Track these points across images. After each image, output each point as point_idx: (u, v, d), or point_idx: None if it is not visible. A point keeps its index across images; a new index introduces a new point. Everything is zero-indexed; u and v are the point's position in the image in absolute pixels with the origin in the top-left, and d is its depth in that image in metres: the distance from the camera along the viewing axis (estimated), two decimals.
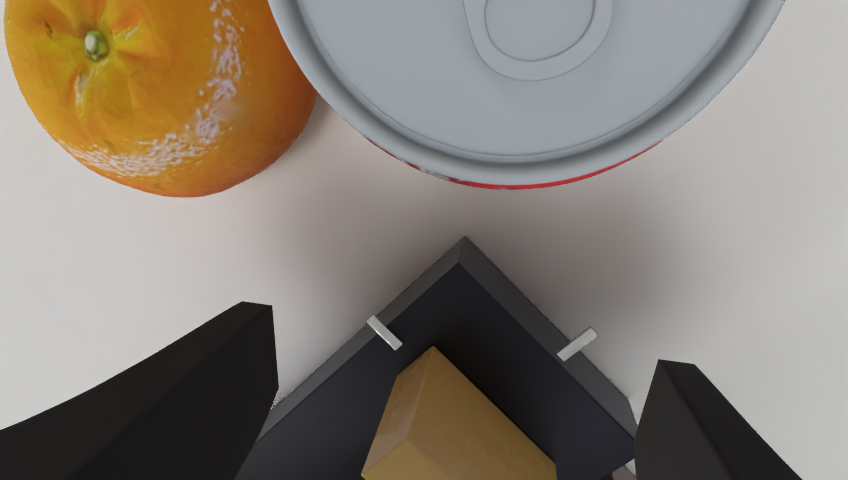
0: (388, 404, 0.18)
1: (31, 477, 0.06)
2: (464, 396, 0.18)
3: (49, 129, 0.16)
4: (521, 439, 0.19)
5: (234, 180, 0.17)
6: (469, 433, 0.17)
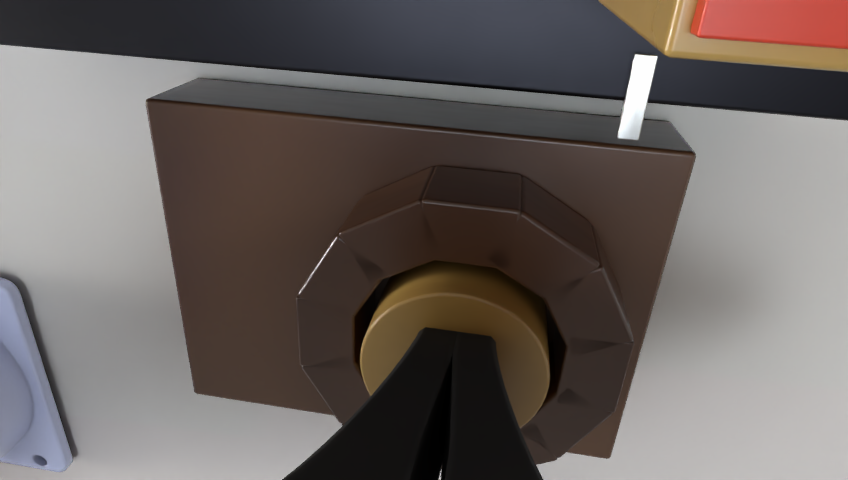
0: None
1: None
2: None
3: None
4: None
5: None
6: None
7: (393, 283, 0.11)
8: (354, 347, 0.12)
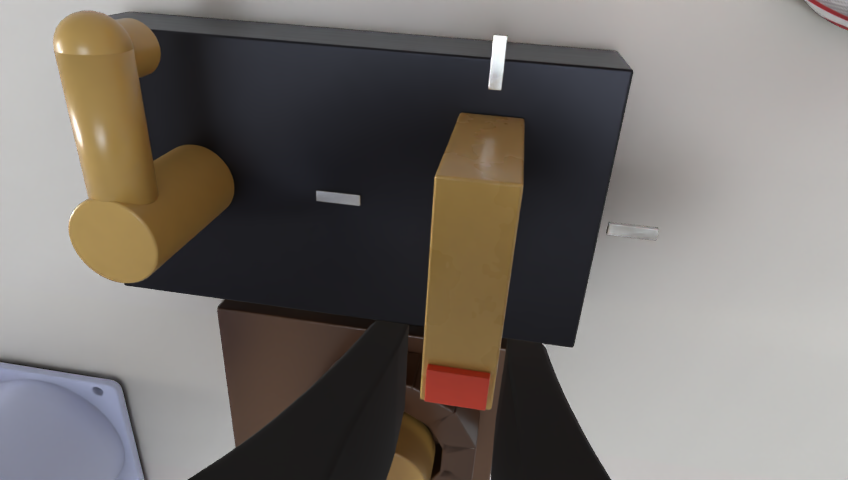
0: (459, 132, 0.14)
1: None
2: None
3: None
4: None
5: None
6: None
7: None
8: None
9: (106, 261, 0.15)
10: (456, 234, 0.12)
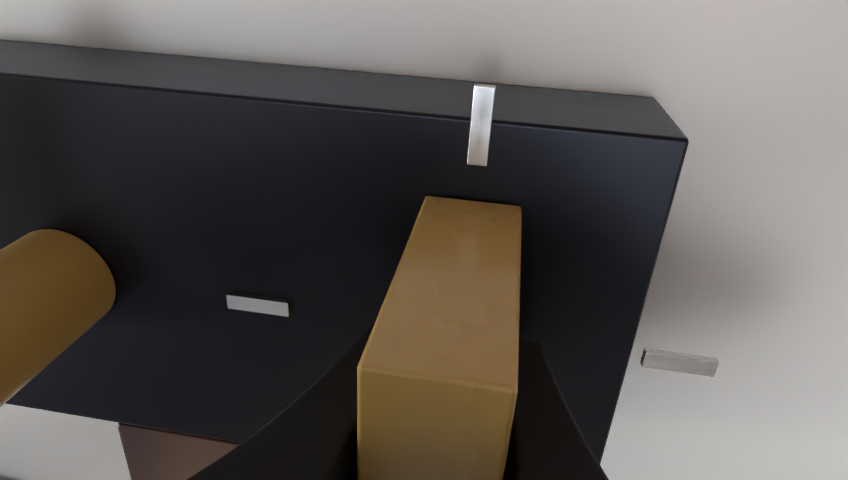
0: (417, 242, 0.09)
1: None
2: None
3: None
4: None
5: None
6: None
7: None
8: None
9: None
10: (400, 455, 0.07)
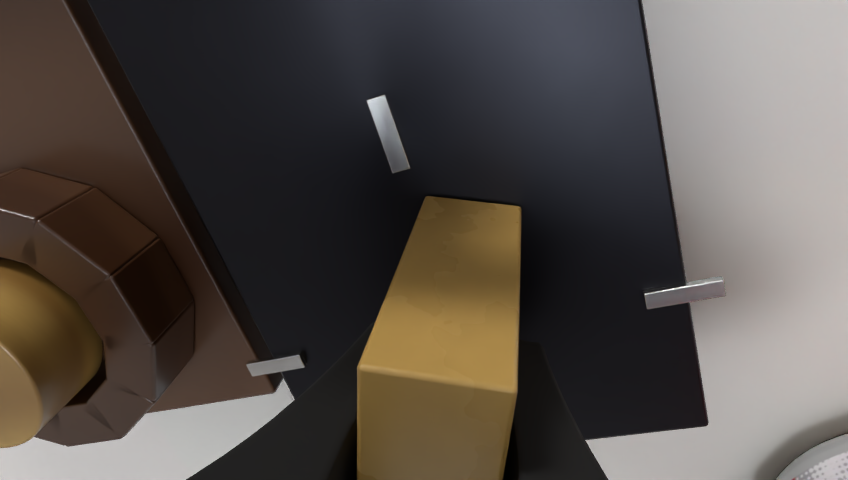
0: (417, 242, 0.09)
1: None
2: None
3: None
4: None
5: None
6: None
7: (1, 286, 0.12)
8: None
9: None
10: (400, 456, 0.07)
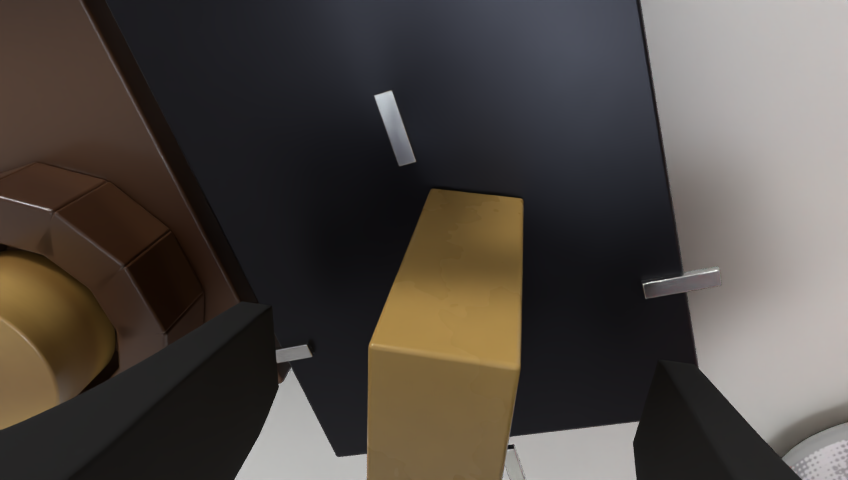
0: (424, 231, 0.09)
1: (31, 477, 0.06)
2: None
3: None
4: None
5: None
6: None
7: (18, 276, 0.12)
8: None
9: None
10: (408, 431, 0.07)
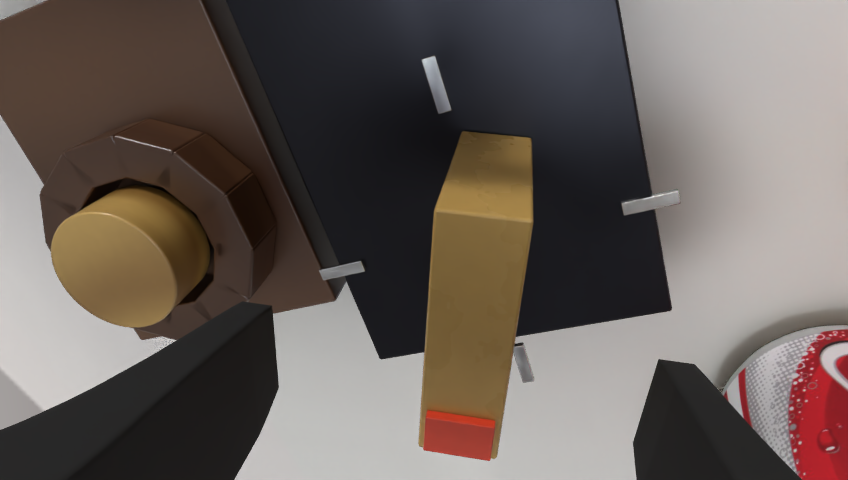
0: (461, 155, 0.13)
1: (31, 477, 0.06)
2: None
3: None
4: None
5: None
6: None
7: (145, 202, 0.16)
8: (104, 184, 0.16)
9: None
10: (458, 273, 0.11)
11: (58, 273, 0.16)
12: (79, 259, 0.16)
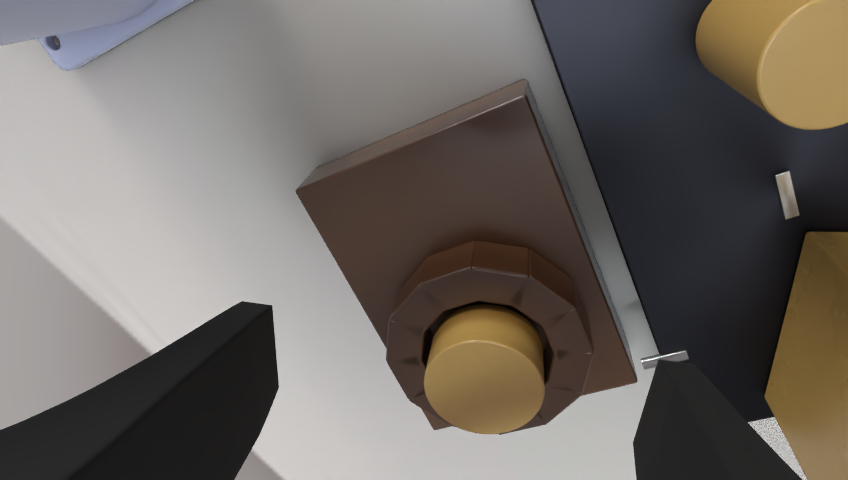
0: (846, 264, 0.14)
1: (31, 477, 0.06)
2: None
3: None
4: None
5: None
6: None
7: (503, 322, 0.17)
8: (454, 307, 0.18)
9: (792, 63, 0.10)
10: None
11: (428, 393, 0.18)
12: (452, 380, 0.17)
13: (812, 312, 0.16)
